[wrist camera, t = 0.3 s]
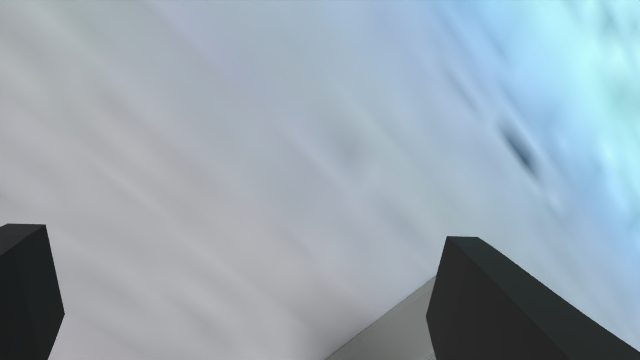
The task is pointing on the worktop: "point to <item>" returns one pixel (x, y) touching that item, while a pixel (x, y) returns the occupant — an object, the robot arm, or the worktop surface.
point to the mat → (395, 332)
